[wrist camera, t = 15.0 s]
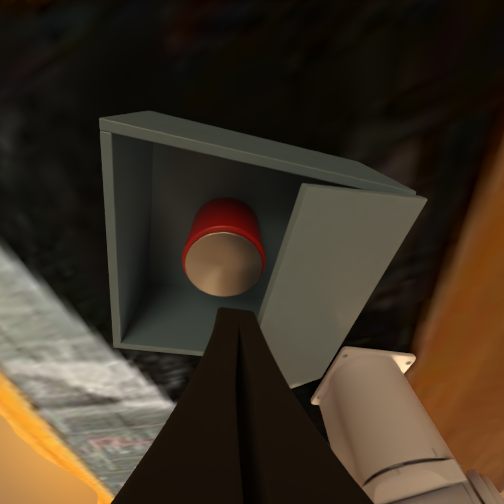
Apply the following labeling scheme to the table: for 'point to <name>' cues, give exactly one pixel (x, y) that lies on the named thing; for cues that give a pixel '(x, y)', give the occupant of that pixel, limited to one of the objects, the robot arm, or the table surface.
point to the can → (224, 248)
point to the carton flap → (329, 272)
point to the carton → (183, 213)
